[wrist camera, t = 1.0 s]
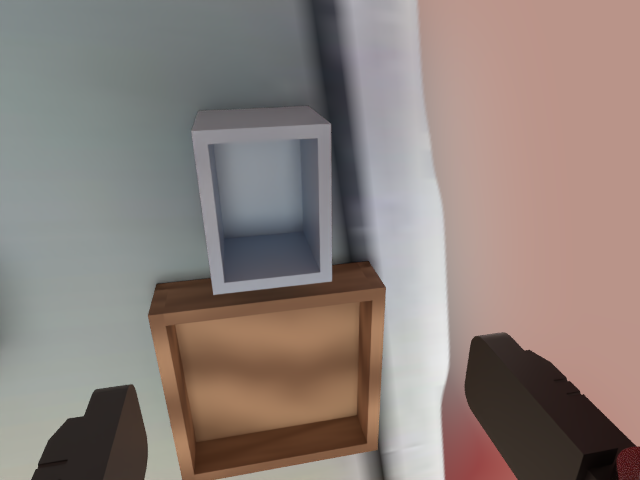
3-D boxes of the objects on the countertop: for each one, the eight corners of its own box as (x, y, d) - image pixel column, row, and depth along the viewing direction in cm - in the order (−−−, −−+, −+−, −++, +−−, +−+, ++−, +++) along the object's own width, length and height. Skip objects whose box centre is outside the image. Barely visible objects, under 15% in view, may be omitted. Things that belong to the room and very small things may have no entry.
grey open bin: (198, 110, 24) (191, 131, 19) (308, 105, 25) (331, 123, 20) (215, 244, 27) (213, 294, 22) (311, 235, 28) (332, 281, 23)
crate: (156, 284, 28) (148, 315, 24) (368, 261, 30) (385, 287, 27) (187, 443, 33) (183, 485, 30) (363, 413, 36) (377, 449, 32)
